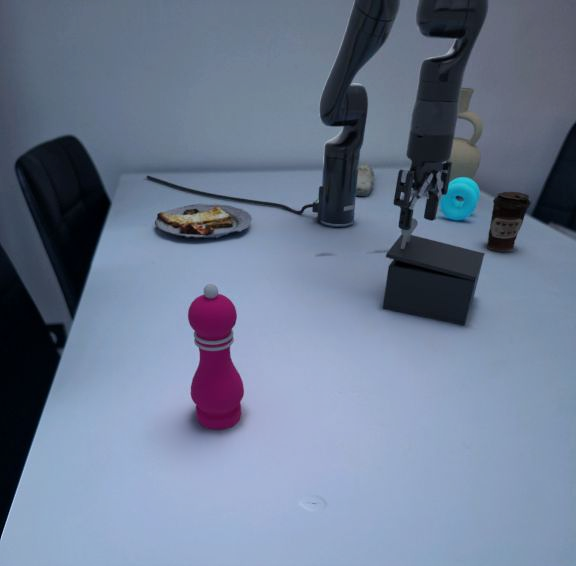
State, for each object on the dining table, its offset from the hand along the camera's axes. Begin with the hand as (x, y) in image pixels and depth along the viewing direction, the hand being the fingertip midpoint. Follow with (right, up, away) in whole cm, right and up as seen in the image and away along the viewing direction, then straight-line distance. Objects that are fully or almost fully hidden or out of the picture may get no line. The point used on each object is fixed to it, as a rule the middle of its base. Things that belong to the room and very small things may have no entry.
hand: (417, 224), depth 99 cm
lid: (+4, -6, +1) cm, 7 cm away
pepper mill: (-34, -35, -24) cm, 54 cm away
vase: (+27, +31, +72) cm, 82 cm away
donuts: (+24, +18, +53) cm, 61 cm away
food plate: (-46, +11, +41) cm, 63 cm away
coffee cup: (+29, +4, +33) cm, 44 cm away
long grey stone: (0, +38, +81) cm, 90 cm away
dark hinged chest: (+4, -14, +6) cm, 16 cm away
